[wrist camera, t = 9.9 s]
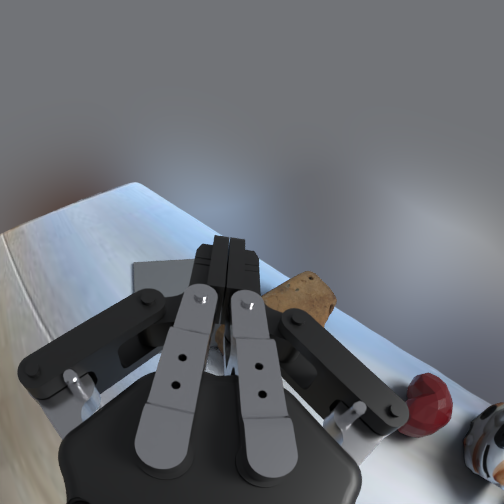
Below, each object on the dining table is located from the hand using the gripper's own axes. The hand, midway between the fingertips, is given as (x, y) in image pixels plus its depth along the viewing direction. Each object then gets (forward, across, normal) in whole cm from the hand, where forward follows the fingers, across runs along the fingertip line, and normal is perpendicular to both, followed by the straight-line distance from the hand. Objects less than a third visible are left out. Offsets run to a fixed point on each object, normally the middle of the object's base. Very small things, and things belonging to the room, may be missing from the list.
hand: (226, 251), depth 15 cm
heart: (+2, -34, +30) cm, 46 cm away
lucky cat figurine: (-11, -49, +30) cm, 58 cm away
